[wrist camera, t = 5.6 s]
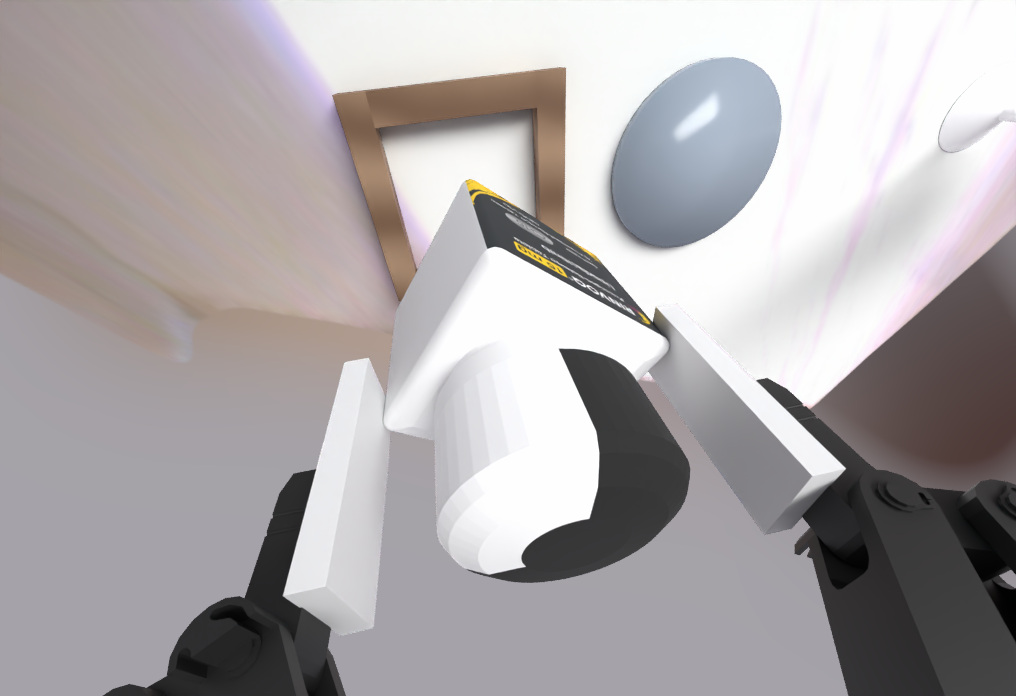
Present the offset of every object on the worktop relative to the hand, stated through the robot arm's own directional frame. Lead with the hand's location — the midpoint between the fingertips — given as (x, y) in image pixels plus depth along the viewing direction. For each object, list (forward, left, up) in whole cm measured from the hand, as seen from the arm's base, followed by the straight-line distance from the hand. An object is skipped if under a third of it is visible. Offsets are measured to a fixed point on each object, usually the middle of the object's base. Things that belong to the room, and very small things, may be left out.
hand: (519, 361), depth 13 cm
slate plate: (0, +19, -21) cm, 28 cm away
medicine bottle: (0, 0, -6) cm, 6 cm away
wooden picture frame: (0, 0, -21) cm, 21 cm away
